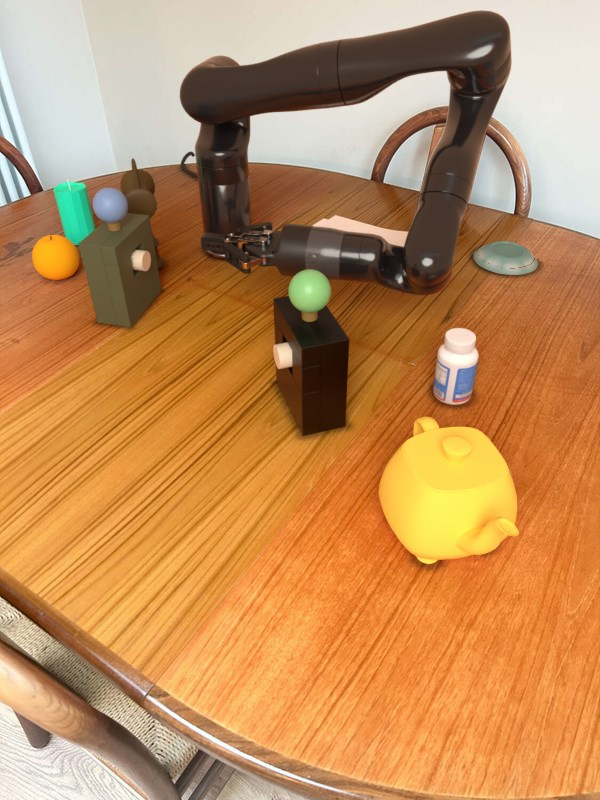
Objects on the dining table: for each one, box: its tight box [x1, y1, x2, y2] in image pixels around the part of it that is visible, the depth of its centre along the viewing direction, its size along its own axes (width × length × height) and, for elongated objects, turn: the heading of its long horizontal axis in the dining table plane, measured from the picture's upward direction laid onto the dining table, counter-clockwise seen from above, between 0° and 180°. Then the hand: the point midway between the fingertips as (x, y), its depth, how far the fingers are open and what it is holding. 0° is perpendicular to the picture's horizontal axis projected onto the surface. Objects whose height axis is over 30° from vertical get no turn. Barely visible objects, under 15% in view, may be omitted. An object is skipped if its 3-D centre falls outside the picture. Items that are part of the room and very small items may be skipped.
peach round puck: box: [130, 250, 151, 271], centre depth 104 cm, size 2×3×3 cm
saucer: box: [472, 240, 539, 276], centre depth 122 cm, size 12×12×2 cm
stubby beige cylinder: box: [272, 342, 292, 369], centre depth 84 cm, size 2×3×3 cm
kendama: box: [120, 157, 165, 270], centre depth 115 cm, size 6×10×20 cm, turn 13°
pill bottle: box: [432, 327, 479, 406], centre depth 89 cm, size 6×5×10 cm
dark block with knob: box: [272, 269, 350, 437], centre depth 84 cm, size 6×12×20 cm, turn 18°
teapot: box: [378, 416, 520, 565], centre depth 69 cm, size 14×20×13 cm
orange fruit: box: [31, 234, 81, 281], centre depth 117 cm, size 8×8×8 cm
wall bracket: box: [311, 214, 408, 247], centre depth 124 cm, size 10×7×28 cm
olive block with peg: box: [78, 186, 162, 328], centre depth 104 cm, size 6×12×20 cm, turn 165°
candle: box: [53, 178, 96, 246], centre depth 127 cm, size 6×6×12 cm
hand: (203, 241), depth 99 cm, fingers closed
